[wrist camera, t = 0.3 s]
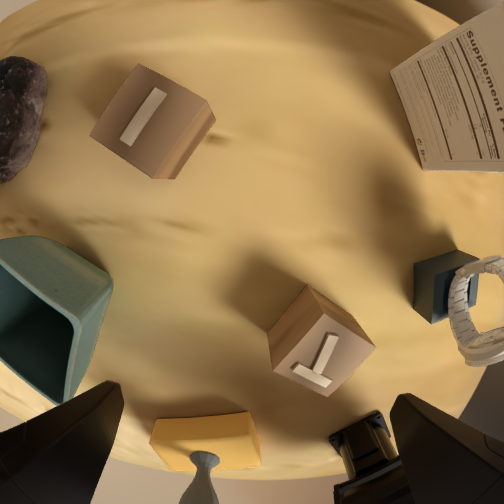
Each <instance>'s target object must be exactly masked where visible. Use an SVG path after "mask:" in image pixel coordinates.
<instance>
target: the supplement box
mask: <svg viewBox="0 0 504 504" xmlns="http://www.w3.org/2000/svg"><path fill="white" fill-rule="evenodd" d="M390 74H391V77H392V79H393V81H394V84H395V86H396V89H397V91H398V94H399V96H400V99H401V101H402V104H403V107H404V110H405V112H406V115H407V118H408V121H409V124H410V127H411V130H412V133H413V136H414V139H415V143H416V146H417V149H418V153H419V157H420V160H421V164H422V168H423V170H424V171H466V172H490V173H504V1H503V2H501V3H500V4H498V5H496V6H494V7H492V8H490V9H488V10H487V11H485V12H483V13H481V14H479V15H478V16H476V17H474V18H472V19H470V20H469V21H467V22H465V23H464V24H462V25H460V26H458V27H457V28H455V29H453V30H452V31H450V32H448V33H447V34H445V35H443V36H442V37H440V38H438V39H437V40H435V41H434V42H432V43H430V44H429V45H427V46H426V47H424V48H423V49H421V50H420V51H418V52H417V53H415V54H414V55H412V56H411V57H409V58H408V59H406V60H405V61H403V62H402V63H401V64H399V65H398V66H396V67H395V68H393V69H392V70H390Z"/></svg>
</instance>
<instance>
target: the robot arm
mask: <svg viewBox="0 0 504 504" xmlns="http://www.w3.org/2000/svg"><path fill="white" fill-rule="evenodd" d="M123 408H124V399H123V395H122V391H121V387H120V384H119V383H117V382H113V381H109V380H107V381H105V382H103V383H101V384H99V385H97V386H95V387H93V388H91V389H90V390H88V391H86V392H84V393H82V394H80V395H78V396H76V397H74V398H72V399H70V400H68V401H66V402H64V403H63V404H61V405H59V406H57V407H55V408H53V409H51V410H49V411H47V412H45V413H43V414H40V415H38V416H36V417H34V418H32V419H30V420H28V421H27V422H24V423H22V424H20V425H17V426H15V427H13V428H10V429H8V430H6V431H3V432H0V504H90V503H91V500H92V497H93V495H94V492H95V489H96V487H97V484H98V481H99V479H100V476H101V474H102V471H103V469H104V466H105V464H106V461H107V459H108V456H109V454H110V451H111V449H112V446H113V444H114V440H115V437H116V433H117V429H118V426H119V422H120V419H121V415H122V412H123ZM390 421H391V425H392V429H393V433H394V437H395V441H396V446H397V450H398V453H399V455H397V453H396V451H395V449H394V447H393V445H392V443H391V441H390V439H389V438H390V437H391V435H390V433H389V430H388V427H387V425H386V422H385V420H384V417H383V415H382V413H381V412H378V413H376V414H374V415H372V416H370V417H368V418H367V419H365V420H363V421H361V422H359V423H357V424H355V425H353V426H351V427H349V428H347V429H344V430H342V431H340V432H338V433H336V434H334V435H331V436H330V437H329V438H328V439H329V442H330V443H331V444H332V446H333V447H334V448H335V450H336V451H337V452H338V453H339V455H340V456H341V457H342V459H343V462H344V465H345V468H346V471H347V475H348V478H349V480H348V481H345V482H343V483H340V484H336V485H334V492H333V493H334V504H504V442H503V441H500V440H498V439H496V438H494V437H492V436H490V435H487V434H486V433H483V432H482V431H479V430H478V429H476V428H474V427H472V426H470V425H468V424H466V423H464V422H462V421H460V420H458V419H456V418H455V417H453V416H451V415H449V414H447V413H445V412H443V411H441V410H440V409H438V408H436V407H434V406H432V405H430V404H429V403H427V402H425V401H423V400H421V399H420V398H418V397H416V396H414V395H412V394H411V393H405V394H400V395H398V396H397V398H396V400H395V403H394V405H393V407H392V409H391V411H390Z"/></svg>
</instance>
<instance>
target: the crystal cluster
mask: <svg viewBox="0 0 504 504" xmlns="http://www.w3.org/2000/svg"><path fill="white" fill-rule="evenodd" d="M46 93H47V79H46V71H45V69H44V67H42V66H40V65H38V64H36V63H34V62H32V61H30V60H28V59H26V58H23V57H16V56H10V57H7V58H5V59H2V60H0V184H2V183H5V182H6V181H10V180H11V179H12V178H13V177H14V176H15V174H16V172H17V171H19V170H21V169H23V168H25V167H26V166H27V164H28V163H29V161H30V158H31V155H32V152H33V150H34V148H35V146H36V143H37V140H38V137H39V134H40V118H41V115H42V111H43V107H44V99H45V96H46Z"/></svg>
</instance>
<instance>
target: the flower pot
mask: <svg viewBox="0 0 504 504" xmlns="http://www.w3.org/2000/svg"><path fill="white" fill-rule="evenodd" d="M112 290H113V280H112V278H111V276H110V275H109V274H108V273H106V272H105V271H103V270H101V269H100V268H98V267H97V266H95V265H93V264H92V263H90V262H89V261H87V260H85V259H84V258H82V257H81V256H79V255H78V254H76V253H75V252H74V251H72V250H71V249H69V248H68V247H66V246H64V245H62V244H60V243H58V242H56V241H53V240H50V239H48V238H44V237H39V236H21V237H14V238H7V239H1V240H0V361H1V362H3V363H4V364H5V365H6V366H7V367H8V368H9V369H10V370H12V371H13V372H14V373H15V374H16V375H17V376H18V377H20V378H21V379H22V380H24V381H25V382H26V383H27V384H28V385H30V386H31V387H32V388H34V389H35V390H36V391H38V392H39V393H40V394H41V395H43V396H44V397H45V398H47V399H48V400H49V401H51V402H52V403H54V404H55V405H56V406H59V405H61V404H63V403H64V402H66V401H68V400H70V399H72V398H73V397H74V395H75V393H76V391H77V388H78V386H79V384H80V382H81V380H82V378H83V377H84V375H85V373H86V371H87V369H88V366H89V364H90V361H91V358H92V356H93V352H94V349H95V345H96V341H97V337H98V334H99V330H100V327H101V324H102V320H103V317H104V314H105V311H106V308H107V305H108V302H109V299H110V296H111V293H112Z"/></svg>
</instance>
